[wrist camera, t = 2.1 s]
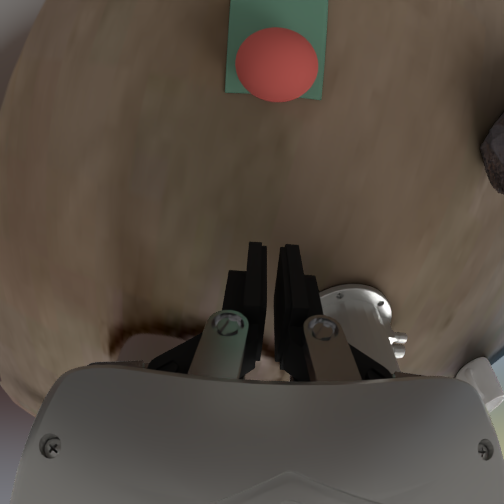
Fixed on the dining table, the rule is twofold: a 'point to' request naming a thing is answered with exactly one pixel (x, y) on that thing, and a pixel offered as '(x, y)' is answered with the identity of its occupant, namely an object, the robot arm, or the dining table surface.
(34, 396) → the dining table surface
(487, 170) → the perforated stone tool
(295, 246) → the robot arm
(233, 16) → the strip
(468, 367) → the mug
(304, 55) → the ball
